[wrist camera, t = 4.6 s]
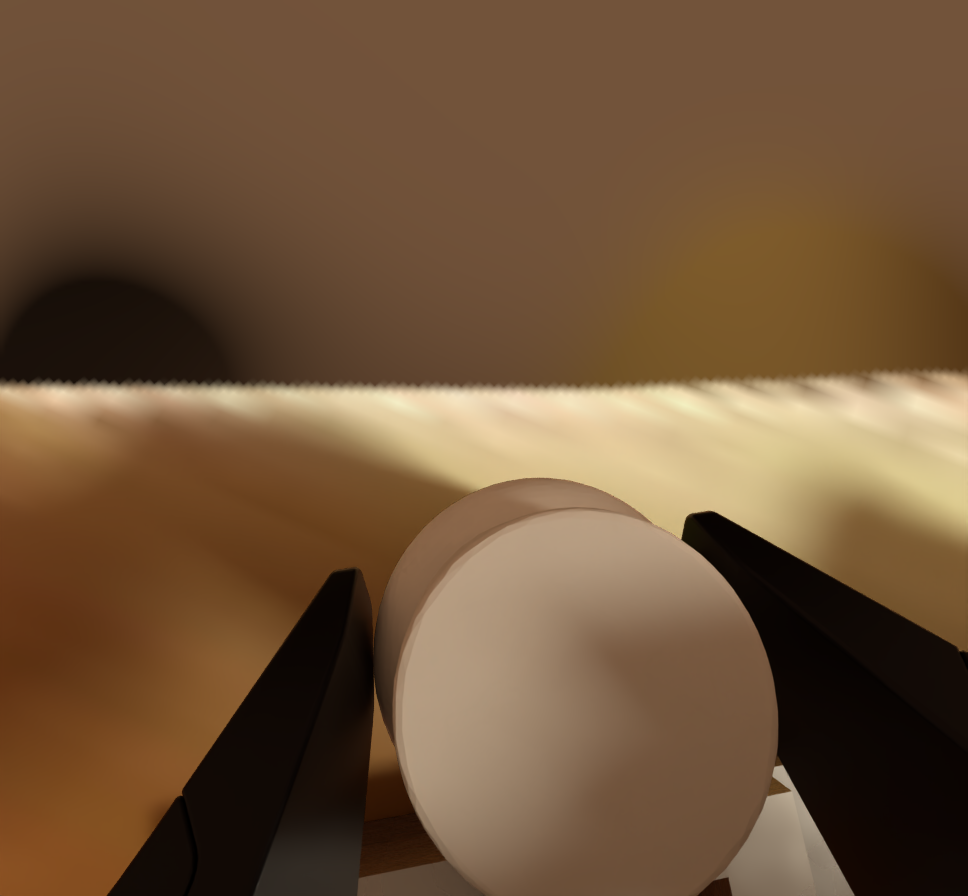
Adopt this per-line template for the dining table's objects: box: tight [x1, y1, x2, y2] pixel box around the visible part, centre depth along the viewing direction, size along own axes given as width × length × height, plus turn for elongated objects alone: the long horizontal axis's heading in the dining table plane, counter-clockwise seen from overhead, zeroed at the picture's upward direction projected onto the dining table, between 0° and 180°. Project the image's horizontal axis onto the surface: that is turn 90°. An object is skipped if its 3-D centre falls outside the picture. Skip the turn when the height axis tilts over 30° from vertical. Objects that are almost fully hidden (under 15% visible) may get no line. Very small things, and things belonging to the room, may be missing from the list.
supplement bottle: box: [373, 478, 778, 896], centre depth 10 cm, size 5×5×10 cm
